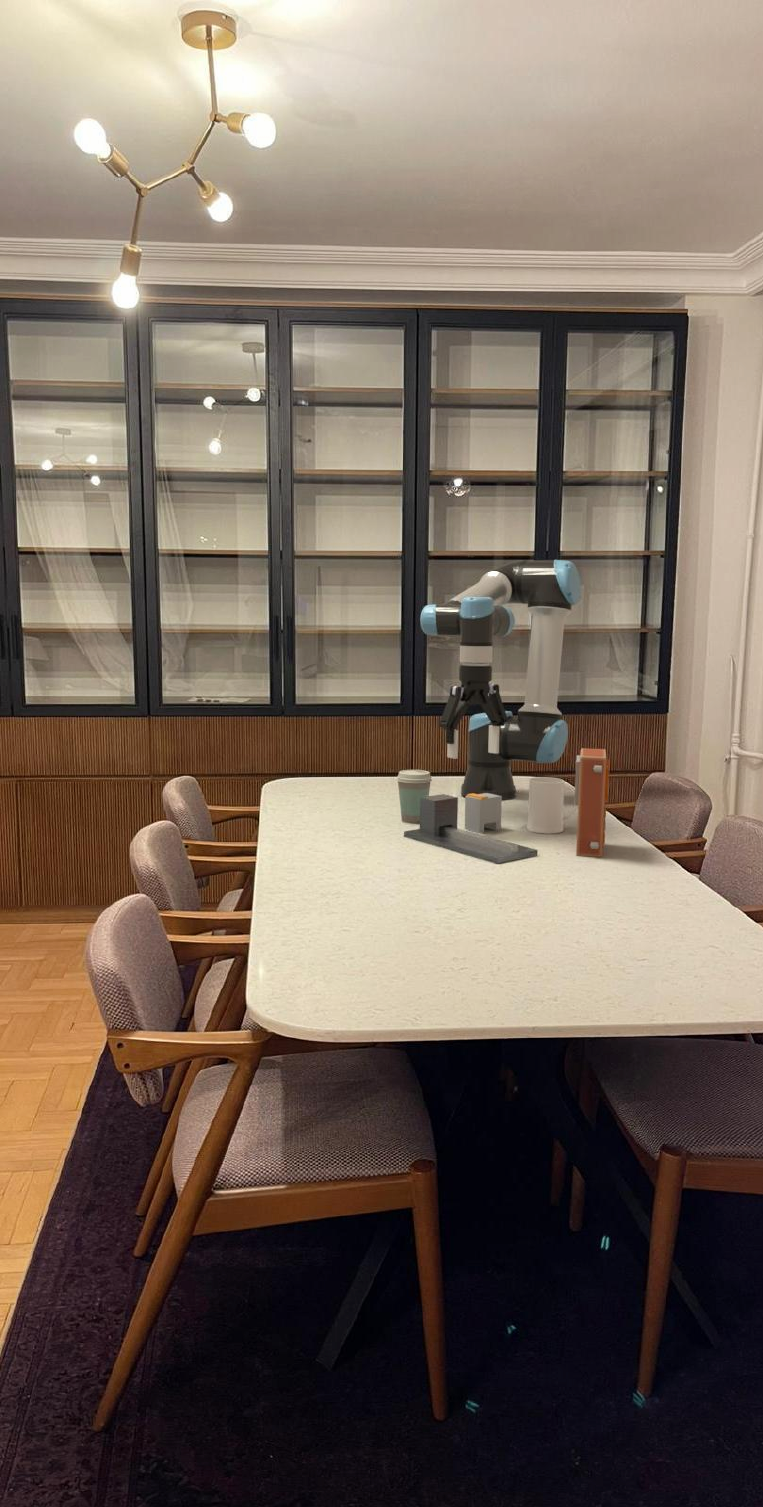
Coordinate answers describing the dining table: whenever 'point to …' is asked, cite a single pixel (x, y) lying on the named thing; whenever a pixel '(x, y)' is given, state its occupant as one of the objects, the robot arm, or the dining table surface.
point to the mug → (547, 805)
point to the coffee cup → (412, 793)
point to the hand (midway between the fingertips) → (473, 755)
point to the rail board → (471, 847)
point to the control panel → (591, 800)
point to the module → (482, 812)
